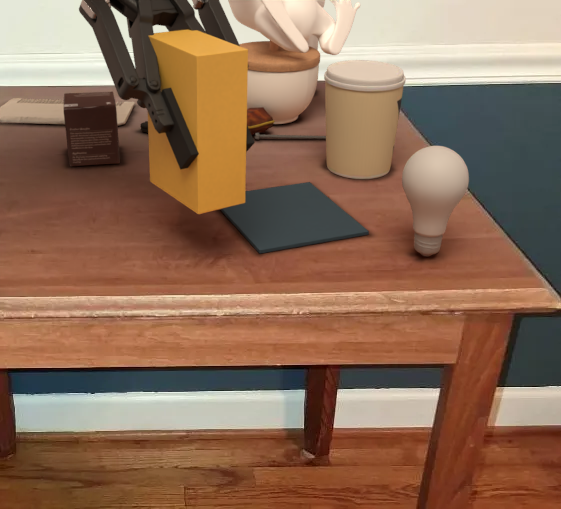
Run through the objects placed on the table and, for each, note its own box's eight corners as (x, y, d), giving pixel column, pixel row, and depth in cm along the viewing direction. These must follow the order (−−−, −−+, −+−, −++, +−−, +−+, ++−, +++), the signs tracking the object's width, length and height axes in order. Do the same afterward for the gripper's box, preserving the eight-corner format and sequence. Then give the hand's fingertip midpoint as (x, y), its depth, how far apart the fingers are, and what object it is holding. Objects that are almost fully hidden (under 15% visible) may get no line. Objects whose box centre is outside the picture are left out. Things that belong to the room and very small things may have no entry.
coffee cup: (412, 175, 100) (422, 75, 95) (344, 186, 97) (350, 83, 91) (370, 150, 108) (378, 56, 102) (306, 160, 104) (310, 63, 99)
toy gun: (277, 133, 112) (235, 156, 105) (186, 120, 120) (141, 140, 112) (276, 107, 111) (233, 129, 103) (184, 96, 118) (138, 115, 110)
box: (118, 147, 106) (114, 90, 103) (120, 165, 101) (116, 105, 98) (68, 150, 105) (63, 92, 102) (68, 167, 100) (62, 107, 96)
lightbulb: (465, 250, 83) (480, 144, 78) (446, 275, 78) (461, 164, 73) (406, 236, 85) (418, 132, 80) (385, 260, 81) (395, 151, 76)
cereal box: (198, 214, 74) (196, 56, 68) (149, 181, 81) (144, 34, 74) (245, 203, 77) (248, 49, 71) (195, 171, 83) (193, 28, 77)
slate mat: (259, 253, 81) (259, 250, 81) (210, 199, 92) (210, 196, 92) (368, 234, 86) (369, 231, 85) (309, 185, 97) (309, 181, 97)
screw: (255, 131, 110) (254, 138, 111) (255, 133, 109) (255, 141, 110) (330, 132, 111) (330, 140, 112) (332, 135, 110) (331, 142, 111)
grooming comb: (10, 96, 122) (11, 101, 122) (-14, 118, 113) (-13, 123, 113) (137, 99, 121) (137, 105, 122) (122, 122, 112) (122, 127, 113)
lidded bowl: (269, 97, 126) (270, 23, 121) (335, 116, 119) (340, 38, 114) (208, 115, 118) (207, 36, 113) (276, 137, 111) (278, 53, 106)
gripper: (194, -44, 86) (282, 157, 82) (22, -34, 77) (111, 194, 72) (222, -95, 80) (319, 119, 76) (38, -91, 70) (137, 154, 66)
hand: (217, 155), depth 74 cm, fingers closed on cereal box, 5 cm apart
